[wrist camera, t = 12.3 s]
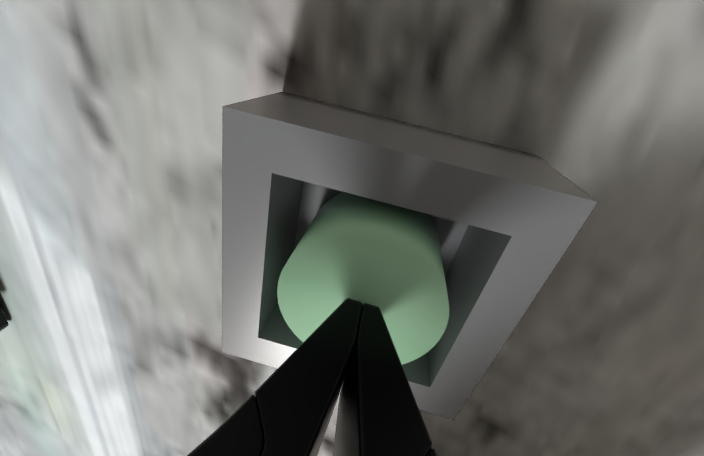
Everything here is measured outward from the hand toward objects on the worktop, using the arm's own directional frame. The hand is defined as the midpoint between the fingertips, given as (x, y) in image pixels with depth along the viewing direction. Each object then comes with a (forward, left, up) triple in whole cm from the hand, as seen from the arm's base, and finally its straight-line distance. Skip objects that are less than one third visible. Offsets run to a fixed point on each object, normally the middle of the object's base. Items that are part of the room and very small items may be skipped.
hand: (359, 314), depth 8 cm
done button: (0, 0, -3) cm, 3 cm away
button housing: (0, 0, -4) cm, 4 cm away
